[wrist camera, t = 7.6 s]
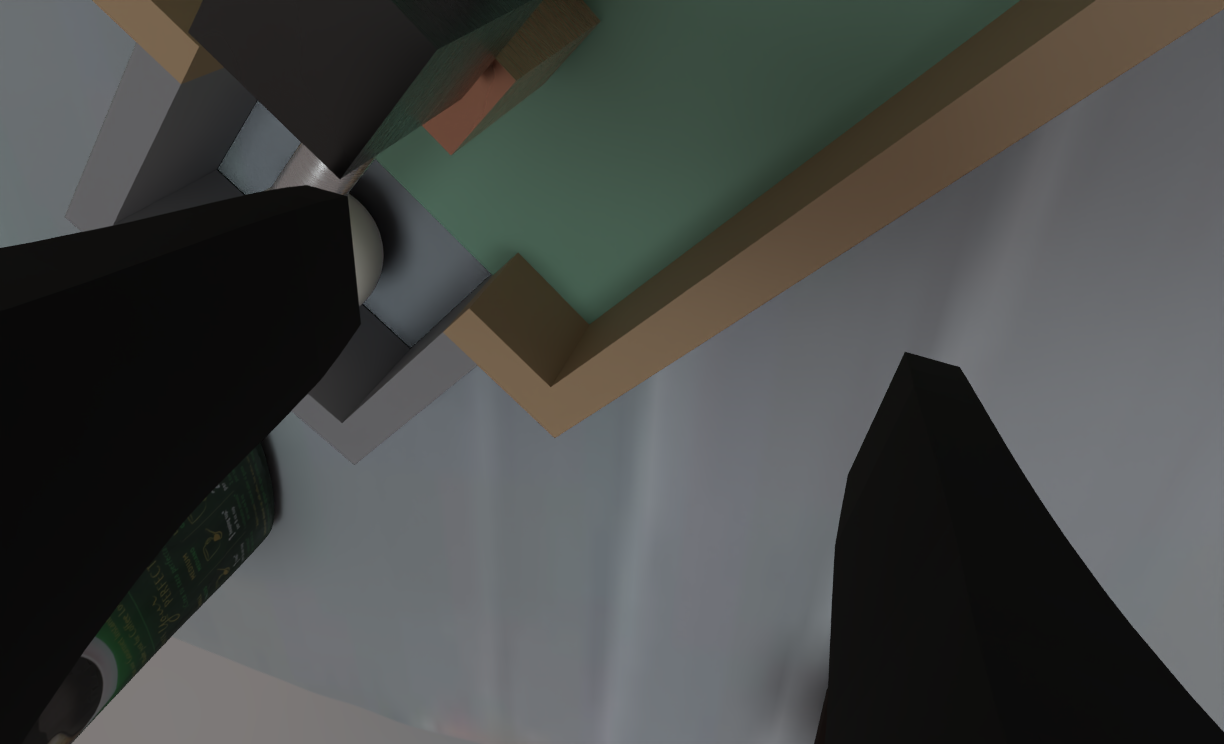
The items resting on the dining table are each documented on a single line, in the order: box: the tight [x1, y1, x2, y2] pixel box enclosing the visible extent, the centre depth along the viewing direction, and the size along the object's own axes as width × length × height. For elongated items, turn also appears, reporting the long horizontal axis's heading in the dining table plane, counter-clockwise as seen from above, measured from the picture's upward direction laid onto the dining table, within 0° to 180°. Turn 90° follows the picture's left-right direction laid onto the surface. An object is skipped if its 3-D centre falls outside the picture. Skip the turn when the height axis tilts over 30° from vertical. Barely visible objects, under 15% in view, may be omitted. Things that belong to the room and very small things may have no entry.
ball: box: [265, 188, 384, 306], centre depth 22 cm, size 4×4×4 cm
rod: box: [188, 0, 600, 196], centre depth 16 cm, size 20×3×8 cm, turn 136°
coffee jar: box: [22, 443, 274, 744], centre depth 26 cm, size 10×8×19 cm
